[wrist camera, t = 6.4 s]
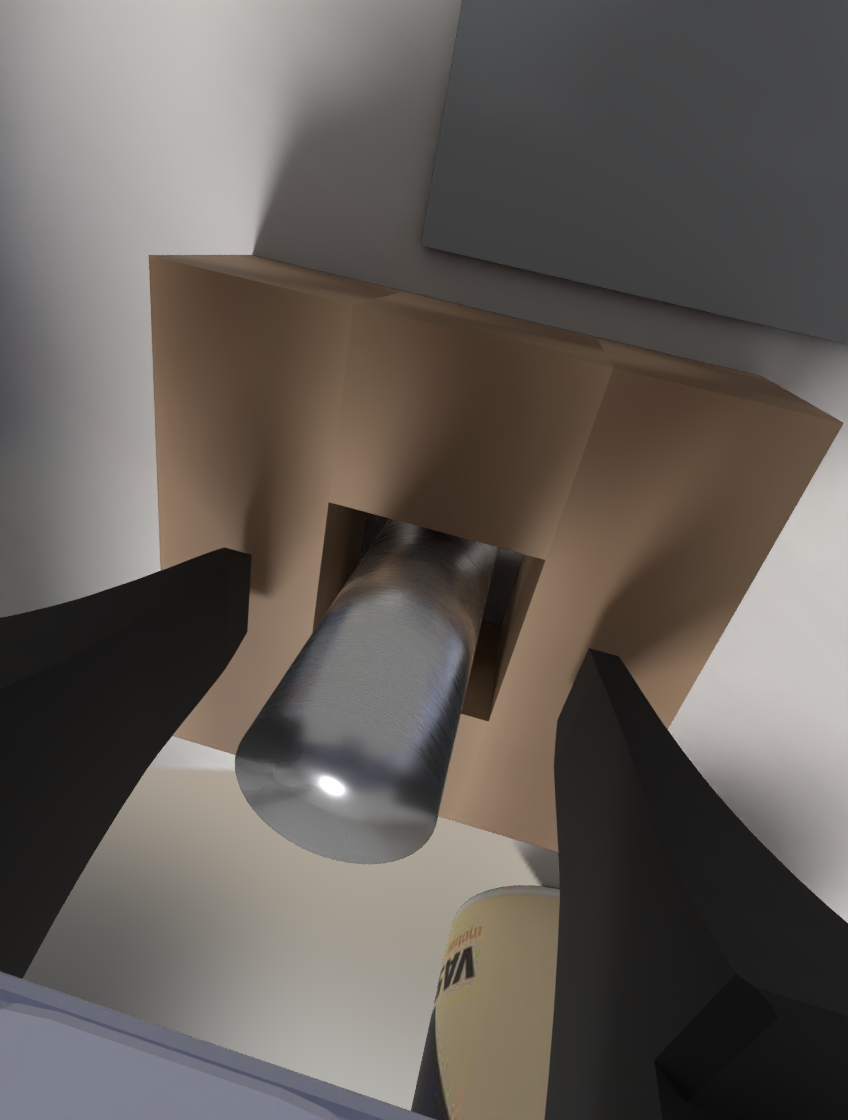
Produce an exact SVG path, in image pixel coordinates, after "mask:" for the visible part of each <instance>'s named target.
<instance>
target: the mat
mask: <svg viewBox="0 0 848 1120" xmlns="http://www.w3.org/2000/svg"><path fill="white" fill-rule="evenodd" d="M421 246H426V247H430V248H434V249H439V250H443V251H447V252H451V253H456V254H460V255H464V256H469V257H473V258H477V259H482V260H486V261H490V262H495V263H499V264H503V265H508V266H512V267H516V268H520V269H525V270H529V271H533V272H538V273H542V274H546V275H551V276H555V277H559V278H564V279H568V280H572V281H577V282H581V283H585V284H589V285H594V286H598V287H602V288H607V289H611V290H615V291H620V292H624V293H628V294H633V295H637V296H641V297H645V298H650V299H654V300H658V301H663V302H667V303H671V304H676V305H680V306H684V307H689V308H693V309H697V310H702V311H706V312H710V313H714V314H719V315H723V316H727V317H732V318H736V319H740V320H745V321H749V322H753V323H758V324H762V325H766V326H771V327H775V328H779V329H783V330H788V331H792V332H796V333H801V334H805V335H809V336H814V337H818V338H822V339H827V340H831V341H835V342H839V343H844V344H848V0H462V6H461V12H460V18H459V23H458V29H457V35H456V41H455V47H454V53H453V59H452V64H451V70H450V76H449V82H448V88H447V94H446V99H445V105H444V111H443V117H442V123H441V129H440V134H439V140H438V146H437V152H436V158H435V164H434V169H433V175H432V181H431V187H430V193H429V199H428V204H427V210H426V216H425V222H424V228H423V234H422V239H421Z"/></svg>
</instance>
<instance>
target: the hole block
mask: <svg viewBox="0 0 848 1120" xmlns="http://www.w3.org/2000/svg"><path fill="white" fill-rule="evenodd" d="M149 270H150V297H151V323H152V350H153V377H154V403H155V430H156V457H157V483H158V510H159V537H160V563H161V570H164V569H167V568H169V567H172V566H174V565H177V564H180V563H182V562H185V561H187V560H190V559H193V558H195V557H198V556H200V555H203V554H206V553H209V552H211V551H214V550H217V549H221V548H224V547H225V548H229V549H232V550H236V551H240V552H243V553H247V554H251V555H252V559H251V577H250V595H249V614H248V632H247V634H246V635H245V637H244V639H243V641H242V642H241V644H240V646H239V648H238V649H237V651H236V653H235V654H234V656H233V658H232V659H231V661H230V662H229V664H228V666H227V667H226V669H225V670H224V672H223V673H222V674H221V676H220V677H219V678H218V679H217V681H216V682H215V683H214V684H213V686H212V687H211V688H210V689H209V691H208V692H207V693H206V695H205V696H204V697H203V698H202V700H201V701H200V702H199V703H198V705H197V706H196V707H195V708H194V709H193V711H192V712H191V713H190V714H189V716H188V717H187V718H186V719H185V721H184V722H183V723H182V724H181V726H180V727H179V728H178V729H177V731H176V732H175V733H174V734H173V735H172V736H175V737H178V738H181V739H185V740H188V741H191V742H195V743H198V744H201V745H205V746H208V747H211V748H214V749H218V750H221V751H224V752H228V753H231V754H234V755H236V752H237V749H238V745H239V744H240V742H241V740H242V738H243V737H244V735H245V734H246V732H247V731H248V729H249V728H250V726H251V725H252V723H253V722H254V720H255V719H256V717H257V716H258V714H259V713H260V711H261V710H262V708H263V707H264V705H265V704H266V702H267V701H268V699H269V698H270V696H271V695H272V693H273V692H274V690H275V689H276V687H277V686H278V684H279V682H280V681H281V679H282V678H283V676H284V675H285V673H286V672H287V670H288V669H289V667H290V666H291V664H292V663H293V661H294V660H295V658H296V657H297V655H298V654H299V652H300V651H301V649H302V648H303V646H304V645H305V643H306V642H307V640H308V639H309V637H310V636H311V634H312V633H313V631H314V630H315V628H316V627H317V625H318V624H319V622H320V621H321V619H322V618H323V616H324V615H325V613H326V612H327V610H328V609H329V607H330V606H331V604H332V603H333V601H334V600H335V598H336V597H337V595H338V594H339V592H340V591H341V589H342V588H343V586H344V585H345V583H346V582H347V580H348V579H349V577H350V576H351V574H352V573H353V571H354V570H355V568H356V567H357V565H358V564H359V562H360V557H361V551H362V545H363V539H364V533H365V527H366V521H367V515H368V513H371V514H375V515H379V516H383V517H386V518H390V519H394V520H398V521H401V522H405V523H409V524H413V525H416V526H420V527H424V528H428V529H431V530H435V531H439V532H443V533H446V534H450V535H454V536H458V537H461V538H465V539H469V540H473V541H476V542H480V543H484V544H488V545H491V546H495V547H499V548H502V549H506V550H510V551H514V552H517V553H521V554H524V557H523V560H522V563H521V566H520V569H519V572H518V575H517V579H516V582H515V585H514V588H513V591H512V594H511V597H510V600H509V603H508V606H507V609H506V612H505V615H504V618H503V621H502V624H501V626H497V625H494V624H490V623H486V622H483V621H482V623H481V627H480V632H479V636H478V641H477V645H476V650H475V654H474V658H473V663H472V667H471V672H470V676H469V681H468V685H467V690H466V694H465V698H464V703H463V707H462V712H461V716H460V721H459V725H458V729H457V734H456V738H455V743H454V747H453V752H452V756H451V761H450V765H449V769H448V774H447V778H446V783H445V787H444V792H443V796H442V800H441V805H440V809H439V814H438V816H439V817H443V818H446V819H449V820H453V821H456V822H459V823H463V824H466V825H469V826H472V827H476V828H479V829H483V830H486V831H489V832H492V833H496V834H499V835H502V836H505V837H509V838H512V839H515V840H519V841H522V842H525V843H529V844H532V845H535V846H539V847H542V848H545V849H548V850H552V851H555V852H558V837H557V819H556V802H555V782H554V754H555V741H556V729H557V720H558V718H559V715H560V713H561V711H562V708H563V706H564V704H565V702H566V699H567V697H568V695H569V692H570V690H571V688H572V685H573V683H574V681H575V679H576V676H577V674H578V672H579V669H580V667H581V665H582V663H583V660H584V658H585V656H586V653H587V651H588V649H589V648H591V649H594V650H598V651H602V652H605V653H609V654H613V655H616V656H619V657H620V659H621V660H622V662H623V663H624V664H625V666H626V667H627V669H628V671H629V672H630V674H631V675H632V677H633V678H634V680H635V681H636V683H637V685H638V686H639V688H640V689H641V691H642V692H643V694H644V695H645V697H646V698H647V700H648V702H649V703H650V705H651V706H652V708H653V709H654V711H655V712H656V714H657V715H658V717H659V718H660V720H661V721H662V722H663V724H664V725H665V727H666V728H667V729H668V728H669V726H670V724H671V722H672V721H673V719H674V717H675V716H676V714H677V712H678V710H679V709H680V707H681V705H682V703H683V702H684V700H685V698H686V696H687V695H688V693H689V691H690V689H691V688H692V686H693V684H694V682H695V681H696V679H697V677H698V675H699V674H700V672H701V670H702V669H703V667H704V665H705V663H706V662H707V660H708V658H709V656H710V655H711V653H712V651H713V649H714V648H715V646H716V644H717V642H718V641H719V639H720V637H721V635H722V634H723V632H724V630H725V628H726V627H727V625H728V623H729V622H730V620H731V618H732V616H733V615H734V613H735V611H736V609H737V608H738V606H739V604H740V602H741V601H742V599H743V597H744V595H745V594H746V592H747V590H748V588H749V587H750V585H751V583H752V581H753V580H754V578H755V576H756V575H757V573H758V571H759V569H760V568H761V566H762V564H763V562H764V561H765V559H766V557H767V555H768V554H769V552H770V550H771V548H772V547H773V545H774V543H775V541H776V540H777V538H778V536H779V534H780V533H781V531H782V529H783V528H784V526H785V524H786V522H787V521H788V519H789V517H790V515H791V514H792V512H793V510H794V508H795V507H796V505H797V503H798V501H799V500H800V498H801V496H802V494H803V493H804V491H805V489H806V487H807V486H808V484H809V482H810V481H811V479H812V477H813V475H814V474H815V472H816V470H817V468H818V467H819V465H820V463H821V461H822V460H823V458H824V456H825V454H826V453H827V451H828V449H829V447H830V446H831V444H832V442H833V440H834V439H835V437H836V435H837V434H838V432H839V430H840V428H841V427H842V425H843V422H841V421H839V420H837V419H836V418H834V417H832V416H830V415H829V414H827V413H825V412H823V411H822V410H820V409H818V408H816V407H815V406H813V405H811V404H809V403H808V402H806V401H804V400H802V399H801V398H799V397H797V396H795V395H794V394H792V393H790V392H788V391H787V390H785V389H783V388H781V387H780V386H778V385H776V384H774V383H773V382H771V381H769V380H767V379H766V378H764V377H761V376H757V375H753V374H749V373H744V372H740V371H736V370H732V369H728V368H723V367H719V366H715V365H711V364H707V363H702V362H698V361H694V360H690V359H686V358H681V357H677V356H673V355H669V354H665V353H660V352H656V351H652V350H648V349H644V348H639V347H635V346H631V345H627V344H623V343H618V342H614V341H610V340H606V339H602V338H597V337H593V336H589V335H585V334H581V333H577V332H572V331H568V330H564V329H560V328H556V327H551V326H547V325H543V324H539V323H535V322H530V321H526V320H522V319H518V318H514V317H509V316H505V315H501V314H497V313H493V312H488V311H484V310H480V309H476V308H472V307H467V306H463V305H459V304H455V303H451V302H446V301H442V300H438V299H434V298H430V297H425V296H421V295H417V294H413V293H409V292H404V291H400V290H396V289H392V288H388V287H383V286H379V285H375V284H371V283H367V282H362V281H358V280H354V279H350V278H346V277H341V276H337V275H333V274H329V273H325V272H320V271H316V270H312V269H308V268H304V267H299V266H295V265H291V264H287V263H283V262H278V261H274V260H270V259H266V258H262V257H257V256H253V255H149Z"/></svg>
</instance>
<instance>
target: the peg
mask: <svg viewBox="0 0 848 1120" xmlns="http://www.w3.org/2000/svg"><path fill="white" fill-rule="evenodd" d="M498 548H499V547H495V546H491V545H488V544H484V543H480V542H476V541H473V540H469V539H465V538H461V537H458V536H454V535H450V534H446V533H443V532H439V531H435V530H431V529H428V528H424V527H420V526H416V525H413V524H409V523H405V522H401V521H398V520H394V519H390V518H389V519H388V520H387V522H386V523H385V525H384V526H383V528H382V529H381V531H380V532H379V534H378V535H377V537H376V538H375V540H374V541H373V543H372V544H371V546H370V547H369V549H368V550H367V552H366V553H365V555H364V556H363V558H362V559H361V561H360V562H359V564H358V565H357V567H356V568H355V570H354V571H353V573H352V574H351V576H350V577H349V579H348V580H347V582H346V583H345V585H344V586H343V588H342V589H341V591H340V592H339V594H338V595H337V597H336V598H335V600H334V601H333V603H332V604H331V606H330V607H329V609H328V610H327V612H326V613H325V615H324V616H323V618H322V619H321V621H320V622H319V624H318V625H317V627H316V628H315V630H314V631H313V633H312V634H311V636H310V637H309V639H308V640H307V642H306V643H305V645H304V646H303V648H302V649H301V651H300V652H299V654H298V655H297V657H296V658H295V660H294V661H293V663H292V664H291V666H290V667H289V669H288V670H287V672H286V673H285V675H284V676H283V678H282V679H281V681H280V682H279V684H278V686H277V687H276V689H275V690H274V692H273V693H272V695H271V696H270V698H269V699H268V701H267V702H266V704H265V705H264V707H263V708H262V710H261V711H260V713H259V714H258V716H257V717H256V719H255V720H254V722H253V723H252V725H251V726H250V728H249V729H248V731H247V732H246V734H245V735H244V737H243V738H242V740H241V742H240V744H239V745H238V749H237V752H236V757H235V772H236V776H237V780H238V783H239V786H240V789H241V791H242V793H243V795H244V797H245V798H246V800H247V802H248V803H249V804H250V806H251V807H252V809H253V810H254V811H255V812H256V813H257V815H258V816H259V817H260V818H261V819H262V820H263V821H264V822H265V823H266V824H267V825H268V826H269V827H271V828H272V829H273V830H275V831H276V832H277V833H278V834H280V835H281V836H283V837H284V838H286V839H287V840H289V841H290V842H292V843H294V844H296V845H298V846H300V847H301V848H303V849H306V850H308V851H310V852H312V853H315V854H318V855H320V856H323V857H326V858H330V859H333V860H337V861H342V862H348V863H357V864H381V863H387V862H393V861H396V860H399V859H402V858H405V857H407V856H409V855H411V854H413V853H414V852H416V851H417V850H419V849H420V848H421V847H422V846H423V845H424V844H425V843H426V842H427V841H428V840H429V838H430V837H431V835H432V834H433V831H434V829H435V826H436V822H437V818H438V814H439V809H440V805H441V800H442V796H443V792H444V787H445V783H446V778H447V774H448V769H449V765H450V761H451V756H452V752H453V747H454V743H455V738H456V734H457V729H458V725H459V721H460V716H461V712H462V707H463V703H464V698H465V694H466V690H467V685H468V681H469V676H470V672H471V667H472V663H473V658H474V654H475V650H476V645H477V641H478V636H479V632H480V627H481V623H482V619H483V614H484V610H485V605H486V601H487V596H488V592H489V587H490V583H491V579H492V574H493V570H494V565H495V561H496V556H497V552H498Z"/></svg>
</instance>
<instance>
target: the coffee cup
mask: <svg viewBox="0 0 848 1120" xmlns="http://www.w3.org/2000/svg"><path fill="white" fill-rule="evenodd" d="M559 905H560V890H559V889H554V888H548V887H541V886H507V887H500V888H496V889H491V890H488V891H485V892H483V893H480V894H478V895H476V896H474V897H472V898H471V899H469V900H468V901H466V902H465V903H464V904H463V905H462V907H461V908H460V909H459V910H458V912H457V913H456V915H455V918H454V920H453V923H452V927H451V930H450V934H449V938H448V942H447V947H446V951H445V955H444V960H443V964H442V969H441V974H440V979H439V983H438V988H437V992H436V997H435V1002H434V1006H433V1011H432V1015H431V1020H430V1025H429V1029H428V1034H427V1039H426V1044H425V1048H424V1053H423V1057H422V1062H421V1066H420V1071H419V1076H418V1081H417V1085H416V1090H415V1094H414V1099H413V1104H412V1108H411V1111H412V1112H415V1113H418V1114H421V1115H424V1116H427V1117H430V1118H433V1119H436V1120H544V1118H545V1108H546V1098H547V1088H548V1077H549V1065H550V1052H551V1039H552V1027H553V1014H554V999H555V983H556V967H557V950H558V928H559Z"/></svg>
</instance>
